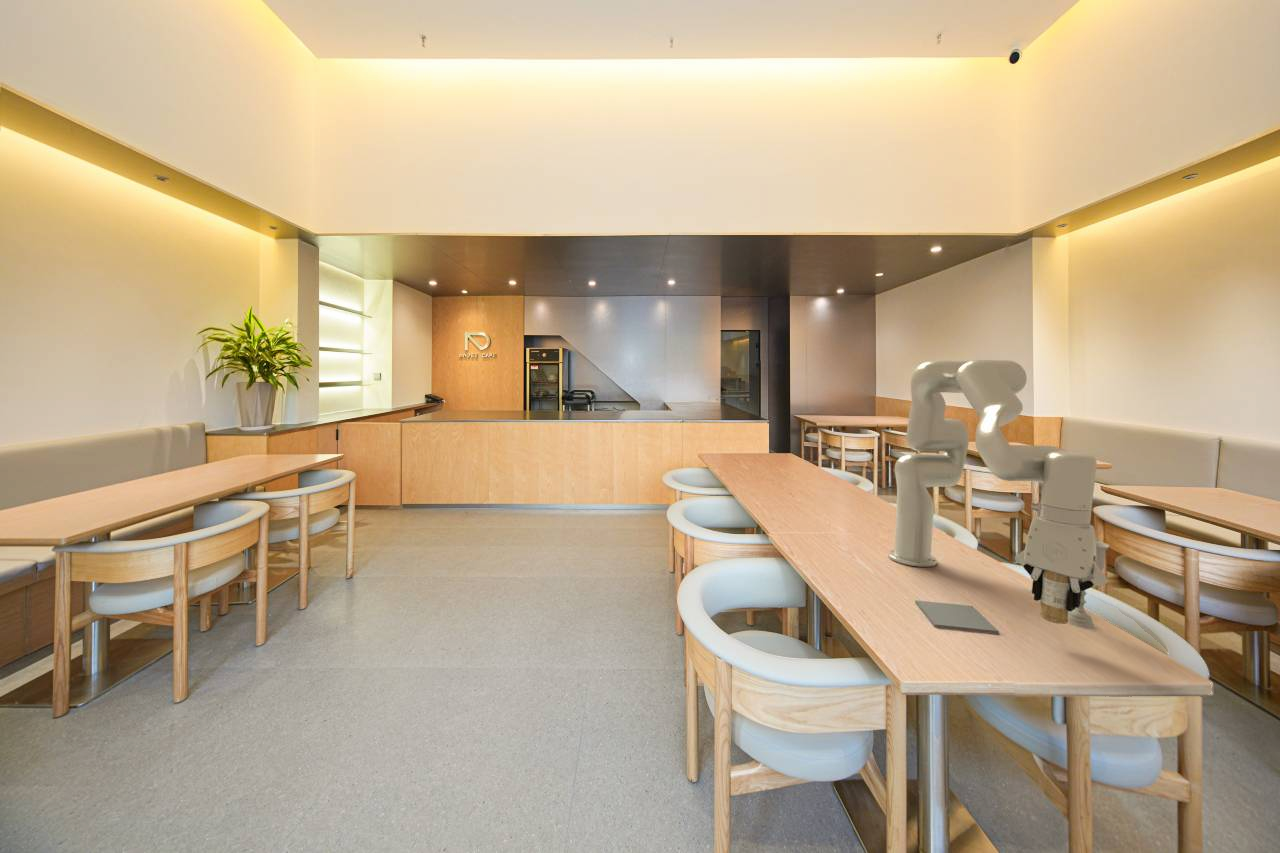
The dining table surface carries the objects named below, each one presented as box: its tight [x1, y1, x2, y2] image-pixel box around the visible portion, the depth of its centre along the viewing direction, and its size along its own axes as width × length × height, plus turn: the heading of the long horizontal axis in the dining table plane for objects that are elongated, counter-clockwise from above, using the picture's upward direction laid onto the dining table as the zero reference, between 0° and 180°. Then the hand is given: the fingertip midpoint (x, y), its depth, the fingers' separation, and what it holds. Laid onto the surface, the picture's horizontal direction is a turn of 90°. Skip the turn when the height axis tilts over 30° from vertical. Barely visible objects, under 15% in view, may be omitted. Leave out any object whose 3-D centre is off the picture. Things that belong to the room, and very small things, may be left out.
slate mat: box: [914, 599, 999, 635], centre depth 107 cm, size 12×12×1 cm
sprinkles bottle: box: [1038, 570, 1071, 625], centre depth 96 cm, size 5×5×14 cm
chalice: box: [1068, 540, 1110, 629], centre depth 105 cm, size 7×7×18 cm
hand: (1054, 603), depth 96 cm, fingers closed on sprinkles bottle, 4 cm apart
